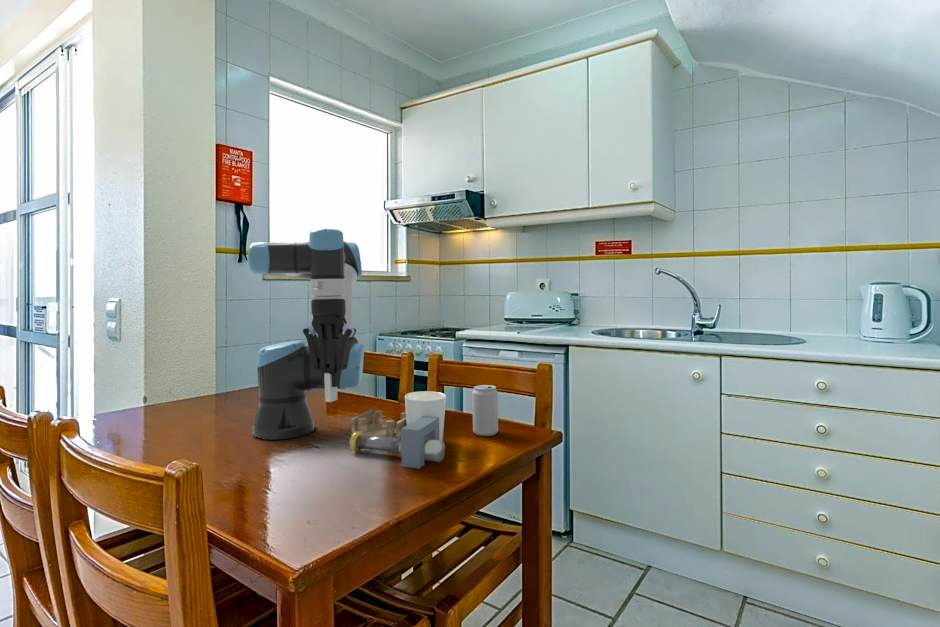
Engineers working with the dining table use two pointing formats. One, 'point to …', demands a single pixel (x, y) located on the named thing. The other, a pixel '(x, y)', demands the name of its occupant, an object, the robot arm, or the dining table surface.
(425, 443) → the axle
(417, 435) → the grey arch block
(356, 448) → the drift plunger
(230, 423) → the dining table surface
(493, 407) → the beverage can
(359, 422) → the cradle
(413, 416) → the white cup
